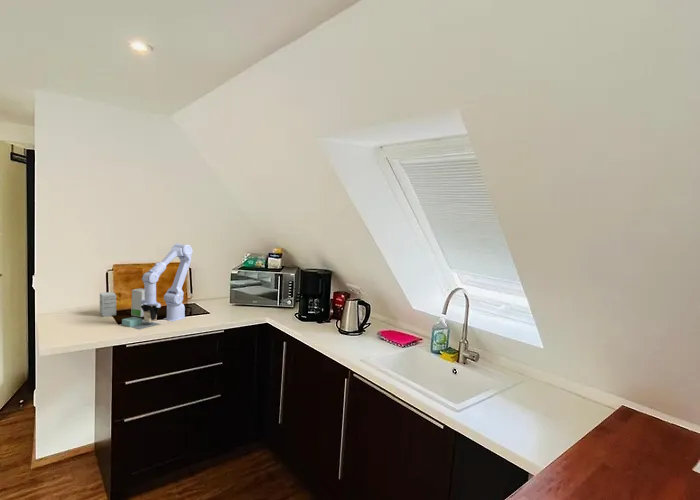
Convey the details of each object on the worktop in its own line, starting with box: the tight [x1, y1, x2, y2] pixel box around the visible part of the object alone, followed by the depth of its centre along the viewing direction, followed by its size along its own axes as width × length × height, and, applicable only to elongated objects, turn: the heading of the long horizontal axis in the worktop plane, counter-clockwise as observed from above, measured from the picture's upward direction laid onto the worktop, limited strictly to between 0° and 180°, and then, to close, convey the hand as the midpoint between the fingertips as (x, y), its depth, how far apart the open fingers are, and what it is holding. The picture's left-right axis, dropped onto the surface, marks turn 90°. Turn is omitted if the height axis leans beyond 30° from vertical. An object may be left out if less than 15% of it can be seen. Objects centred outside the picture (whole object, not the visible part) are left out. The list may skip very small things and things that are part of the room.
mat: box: [120, 318, 161, 330], centre depth 231 cm, size 13×16×1 cm
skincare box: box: [130, 287, 145, 318], centre depth 249 cm, size 8×7×16 cm
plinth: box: [121, 316, 143, 328], centre depth 230 cm, size 7×7×3 cm
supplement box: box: [99, 291, 117, 317], centre depth 248 cm, size 7×7×13 cm
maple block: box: [143, 311, 158, 322], centre depth 232 cm, size 4×4×5 cm
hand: (150, 318), depth 232 cm, fingers closed on maple block, 4 cm apart
